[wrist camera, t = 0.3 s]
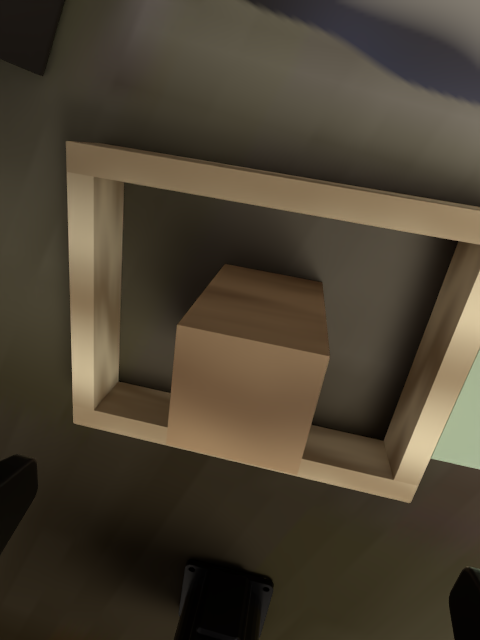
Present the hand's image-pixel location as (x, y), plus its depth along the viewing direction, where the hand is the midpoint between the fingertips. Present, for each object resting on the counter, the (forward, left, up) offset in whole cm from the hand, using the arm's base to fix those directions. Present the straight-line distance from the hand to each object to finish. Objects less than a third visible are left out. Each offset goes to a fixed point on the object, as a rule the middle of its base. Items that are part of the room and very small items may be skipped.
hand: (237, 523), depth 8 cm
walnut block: (-1, +1, -14) cm, 14 cm away
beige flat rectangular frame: (-1, +1, -13) cm, 14 cm away
